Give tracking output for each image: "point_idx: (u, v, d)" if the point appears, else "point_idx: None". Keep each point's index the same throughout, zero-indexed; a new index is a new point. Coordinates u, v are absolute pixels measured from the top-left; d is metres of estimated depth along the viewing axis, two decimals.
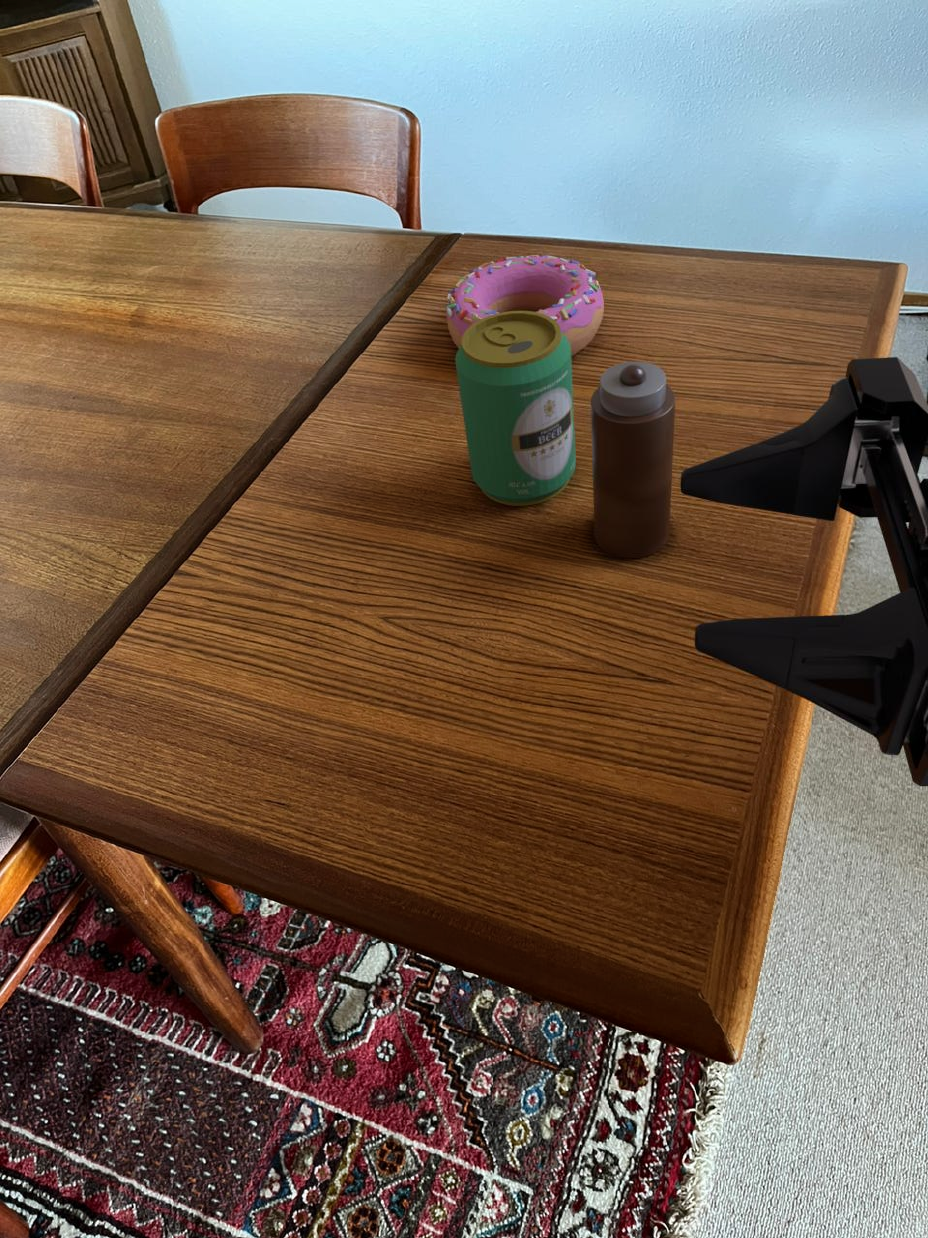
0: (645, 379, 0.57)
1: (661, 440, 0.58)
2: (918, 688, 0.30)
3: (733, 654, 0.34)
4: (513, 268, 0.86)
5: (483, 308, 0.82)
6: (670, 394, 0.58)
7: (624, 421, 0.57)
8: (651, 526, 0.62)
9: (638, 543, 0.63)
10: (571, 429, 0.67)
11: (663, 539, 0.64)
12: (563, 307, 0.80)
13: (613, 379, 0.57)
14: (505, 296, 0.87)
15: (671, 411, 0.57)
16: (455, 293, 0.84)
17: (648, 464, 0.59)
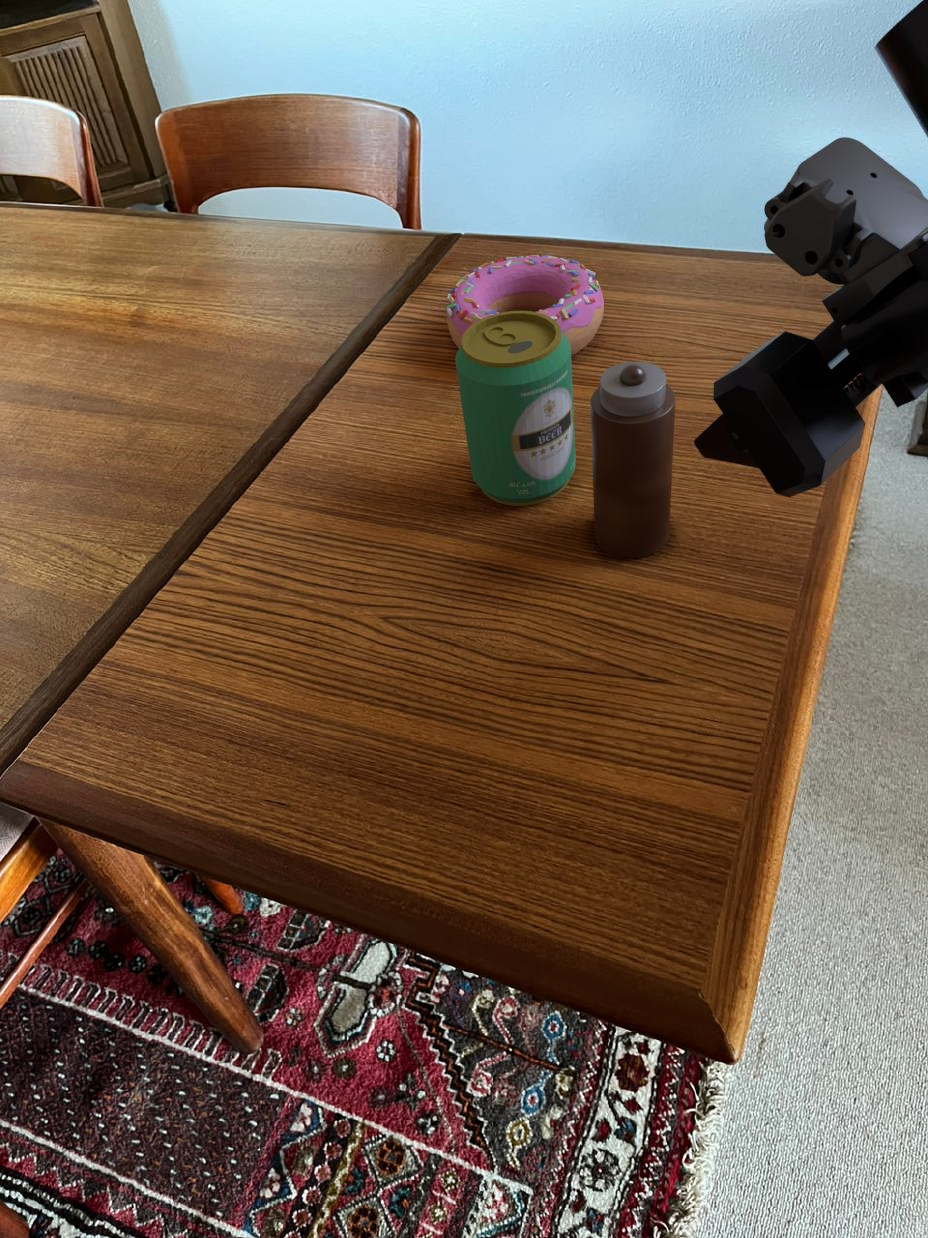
0: (645, 379, 0.57)
1: (661, 440, 0.58)
2: None
3: (713, 450, 0.48)
4: (513, 268, 0.86)
5: (483, 308, 0.82)
6: (670, 394, 0.58)
7: (624, 421, 0.57)
8: (651, 526, 0.62)
9: (638, 543, 0.63)
10: (571, 429, 0.67)
11: (663, 539, 0.64)
12: (563, 307, 0.80)
13: (613, 379, 0.57)
14: (505, 296, 0.87)
15: (671, 411, 0.57)
16: (455, 293, 0.84)
17: (648, 464, 0.59)
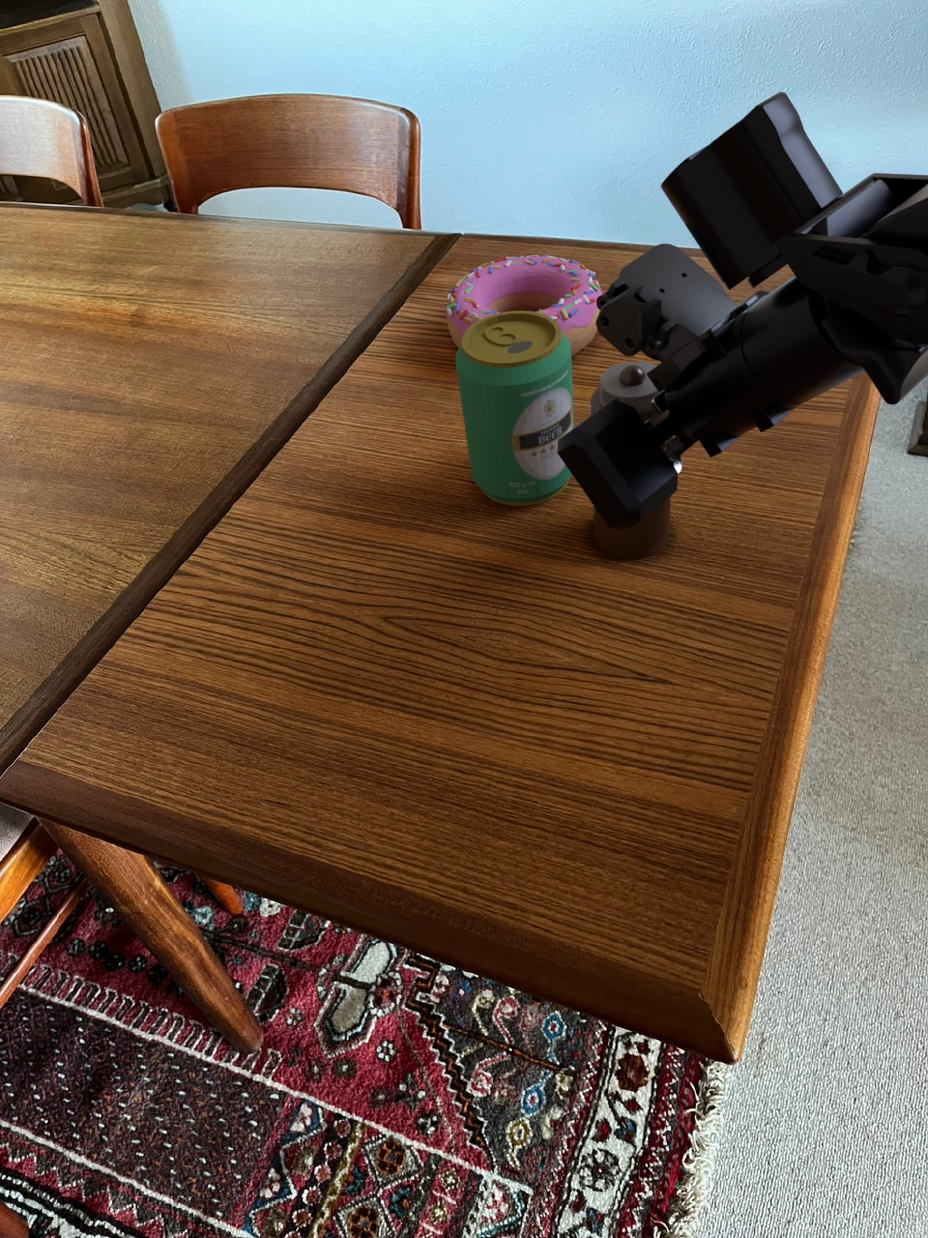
0: (645, 379, 0.57)
1: None
2: None
3: None
4: (513, 268, 0.86)
5: (483, 308, 0.82)
6: None
7: None
8: (650, 526, 0.62)
9: (638, 543, 0.63)
10: (571, 429, 0.67)
11: (663, 539, 0.64)
12: (563, 307, 0.80)
13: (613, 379, 0.57)
14: (505, 295, 0.87)
15: None
16: (455, 293, 0.84)
17: None
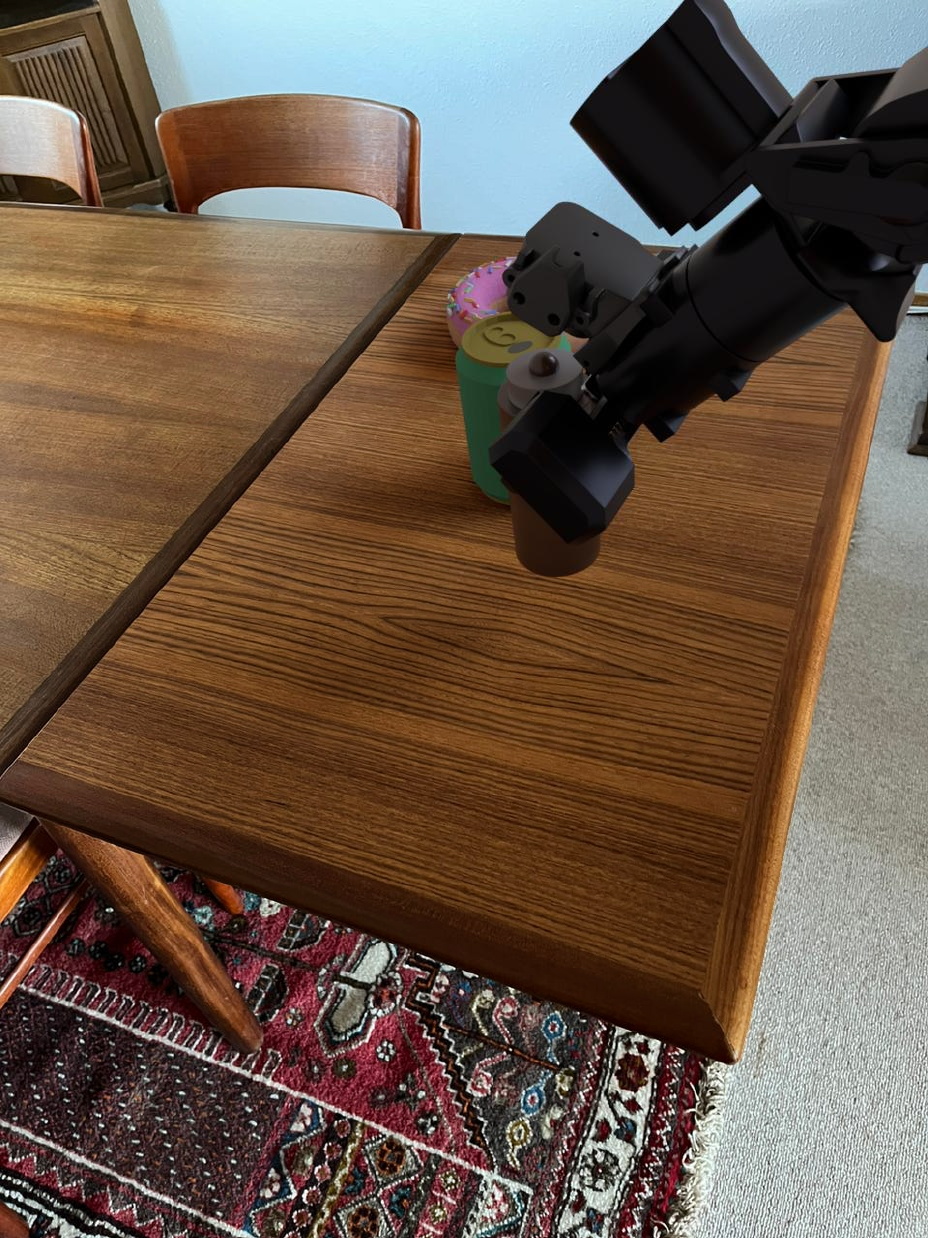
0: (559, 366, 0.48)
1: None
2: None
3: None
4: None
5: (483, 308, 0.82)
6: None
7: None
8: None
9: (573, 557, 0.55)
10: None
11: (597, 548, 0.56)
12: None
13: (521, 372, 0.49)
14: (505, 296, 0.87)
15: None
16: (455, 293, 0.84)
17: None
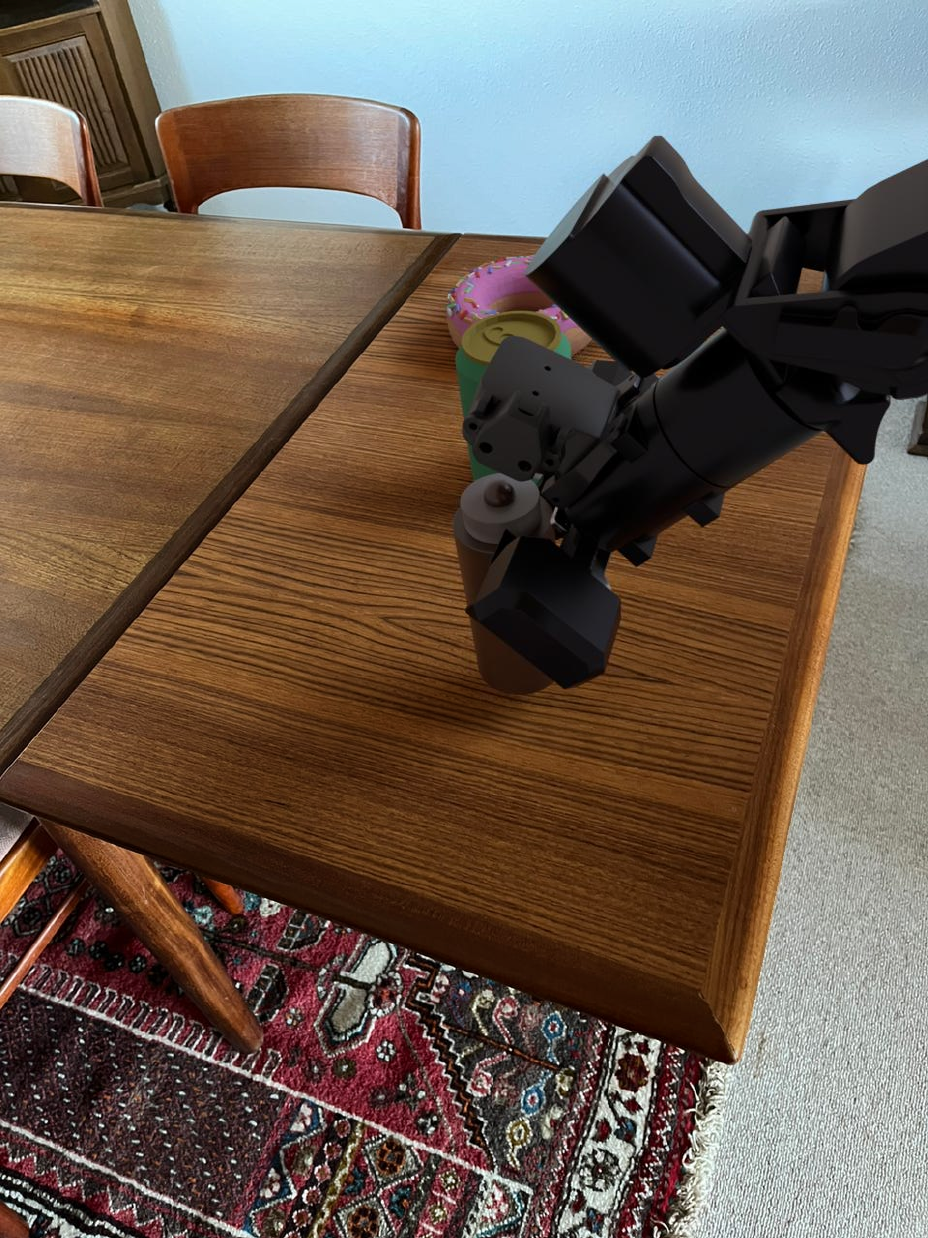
0: (515, 494, 0.47)
1: None
2: None
3: None
4: (513, 268, 0.86)
5: (483, 308, 0.82)
6: (541, 501, 0.48)
7: None
8: None
9: (542, 673, 0.53)
10: None
11: None
12: None
13: (477, 504, 0.47)
14: (505, 296, 0.87)
15: None
16: (455, 293, 0.84)
17: None
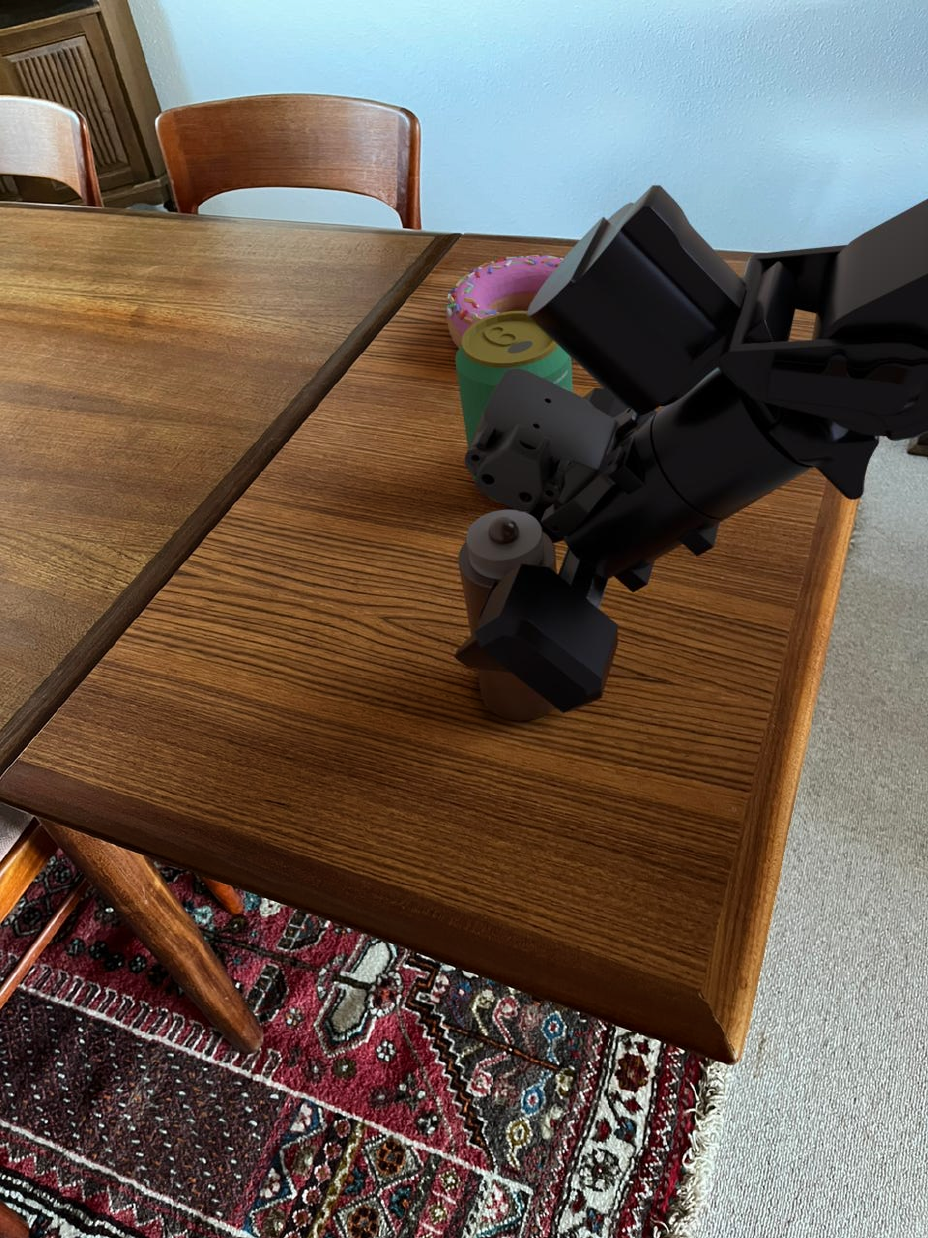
0: (519, 531, 0.49)
1: None
2: None
3: (476, 663, 0.49)
4: (513, 268, 0.86)
5: (483, 308, 0.82)
6: (543, 537, 0.50)
7: None
8: None
9: (543, 700, 0.55)
10: None
11: None
12: None
13: (482, 540, 0.49)
14: (505, 295, 0.87)
15: (555, 557, 0.49)
16: (455, 293, 0.84)
17: None
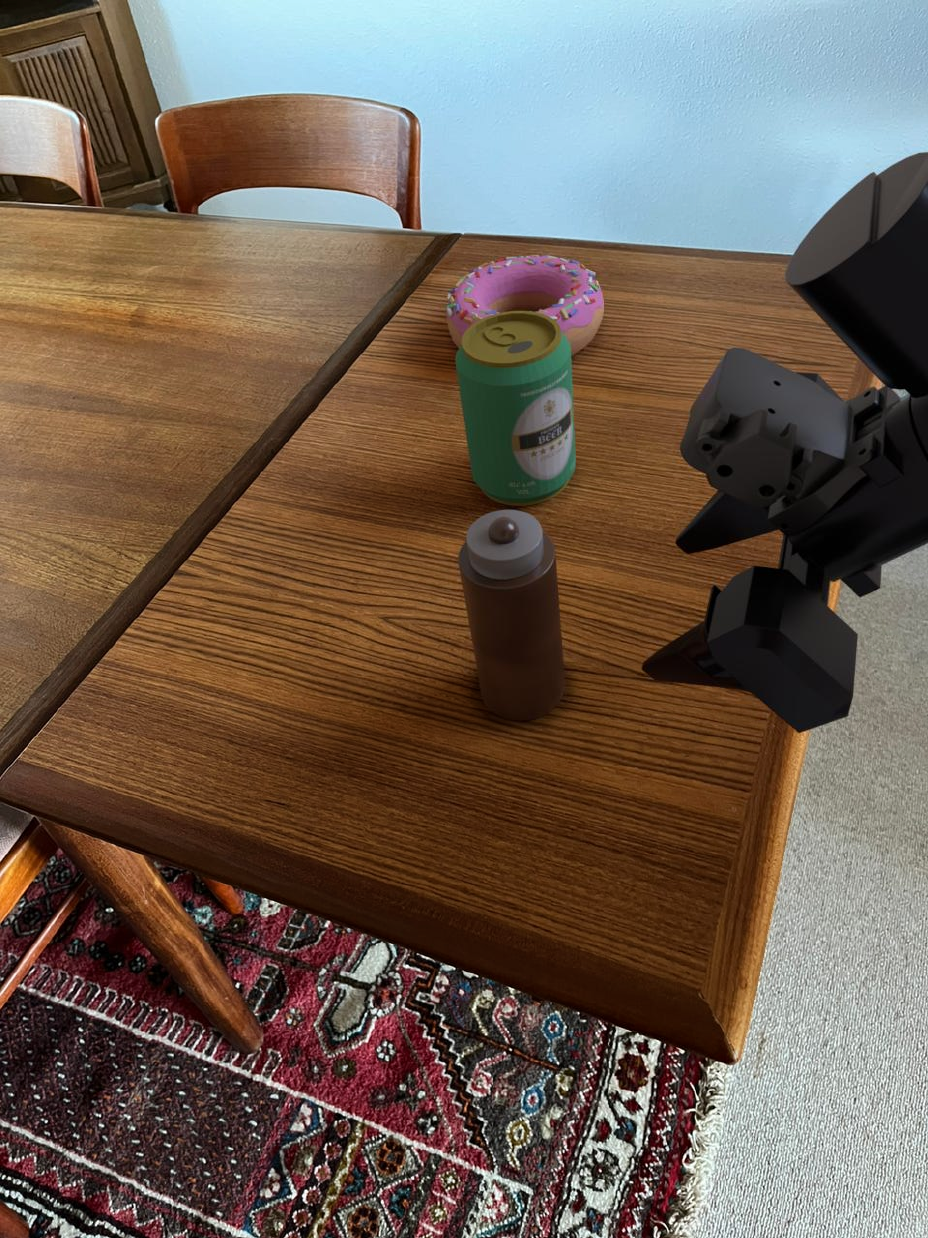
0: (519, 531, 0.49)
1: (552, 590, 0.50)
2: None
3: (670, 675, 0.44)
4: (513, 268, 0.86)
5: (483, 308, 0.82)
6: (543, 537, 0.50)
7: (514, 585, 0.48)
8: (553, 679, 0.54)
9: (543, 700, 0.55)
10: (571, 429, 0.67)
11: (563, 685, 0.57)
12: (563, 307, 0.80)
13: (482, 540, 0.49)
14: (505, 295, 0.87)
15: (555, 557, 0.49)
16: (455, 293, 0.84)
17: (544, 620, 0.51)
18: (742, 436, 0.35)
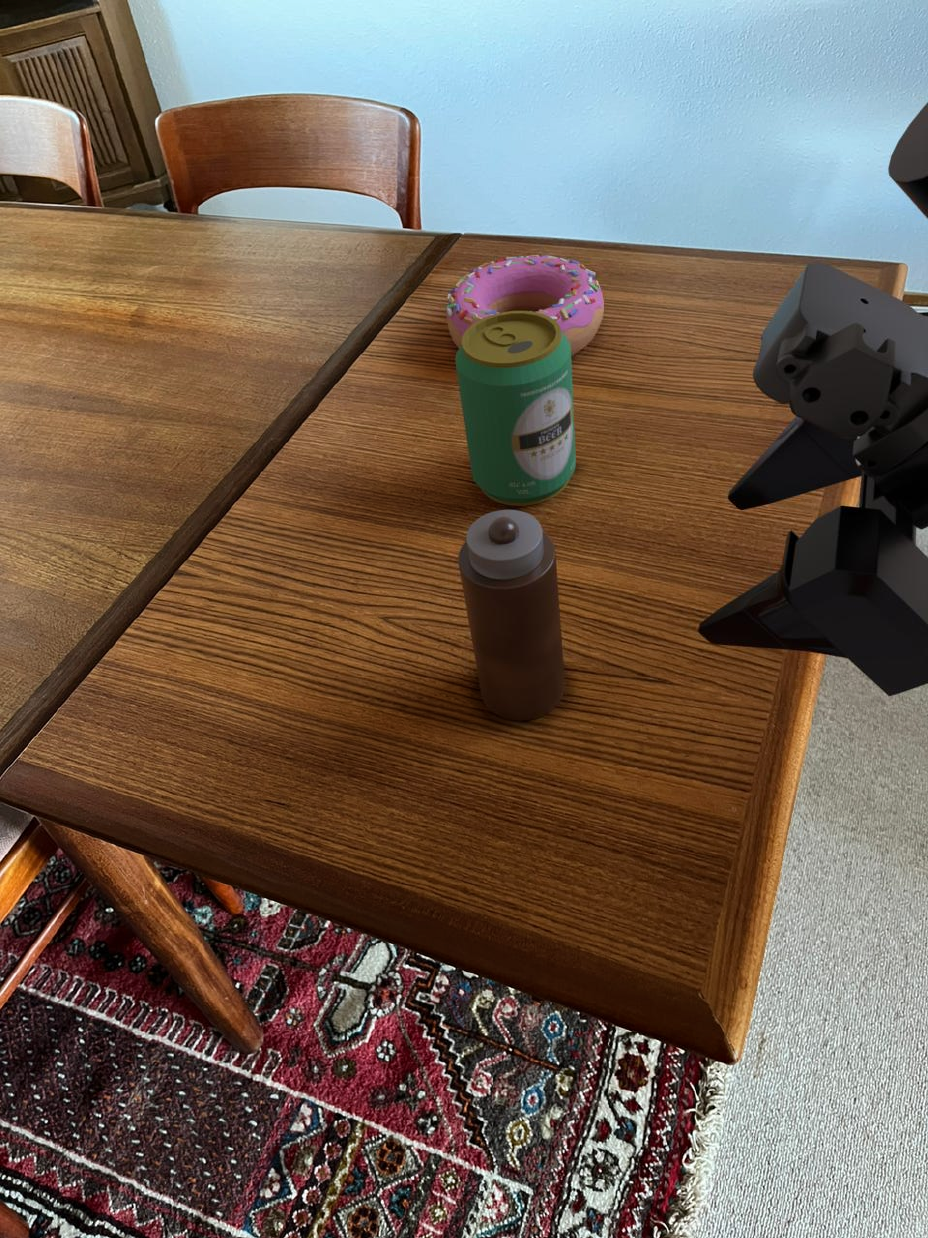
0: (519, 531, 0.49)
1: (552, 590, 0.50)
2: None
3: (731, 637, 0.40)
4: (513, 268, 0.86)
5: (483, 308, 0.82)
6: (543, 537, 0.50)
7: (514, 585, 0.48)
8: (553, 679, 0.54)
9: (543, 700, 0.55)
10: (571, 429, 0.67)
11: (563, 685, 0.57)
12: (563, 307, 0.80)
13: (482, 540, 0.49)
14: (505, 296, 0.87)
15: (555, 557, 0.49)
16: (455, 293, 0.84)
17: (544, 620, 0.51)
18: (834, 353, 0.31)
